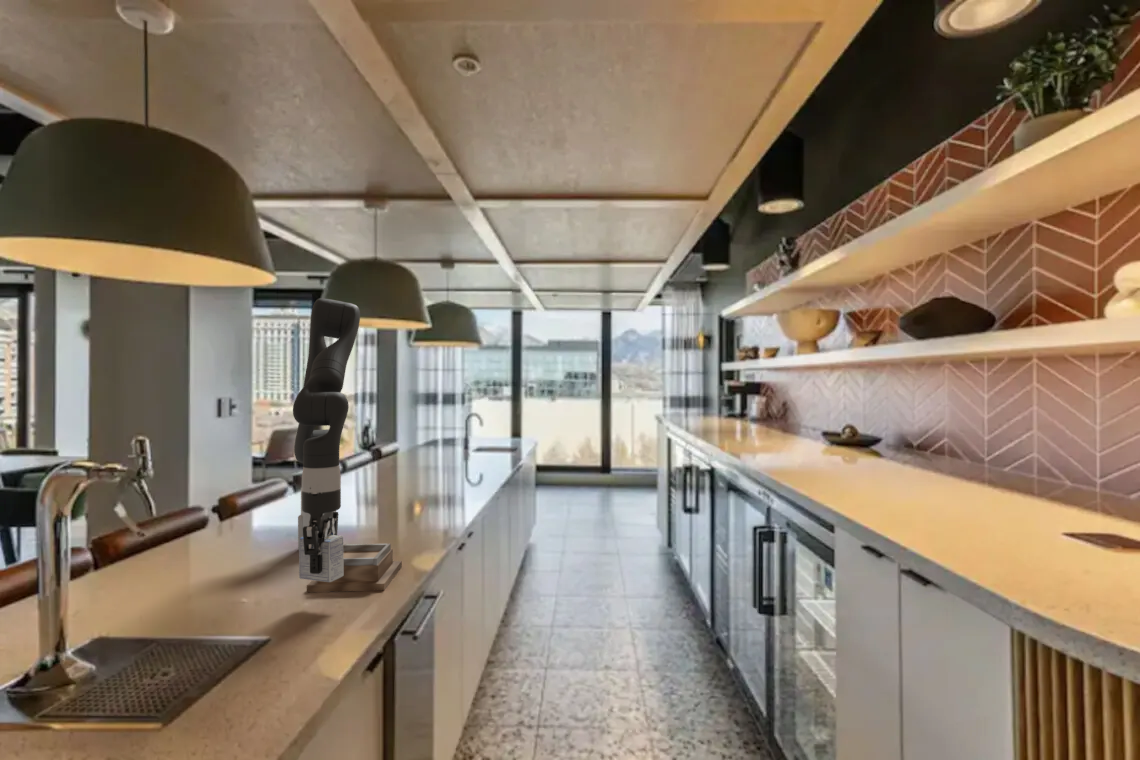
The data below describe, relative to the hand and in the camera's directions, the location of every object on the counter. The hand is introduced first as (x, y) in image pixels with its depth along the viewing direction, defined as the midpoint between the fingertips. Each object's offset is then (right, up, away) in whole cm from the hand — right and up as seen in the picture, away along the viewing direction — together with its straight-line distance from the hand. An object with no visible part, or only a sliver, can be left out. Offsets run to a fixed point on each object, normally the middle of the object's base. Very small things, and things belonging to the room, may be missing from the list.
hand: (321, 567), depth 125 cm
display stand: (+1, -8, +17) cm, 19 cm away
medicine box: (0, -2, 0) cm, 2 cm away
